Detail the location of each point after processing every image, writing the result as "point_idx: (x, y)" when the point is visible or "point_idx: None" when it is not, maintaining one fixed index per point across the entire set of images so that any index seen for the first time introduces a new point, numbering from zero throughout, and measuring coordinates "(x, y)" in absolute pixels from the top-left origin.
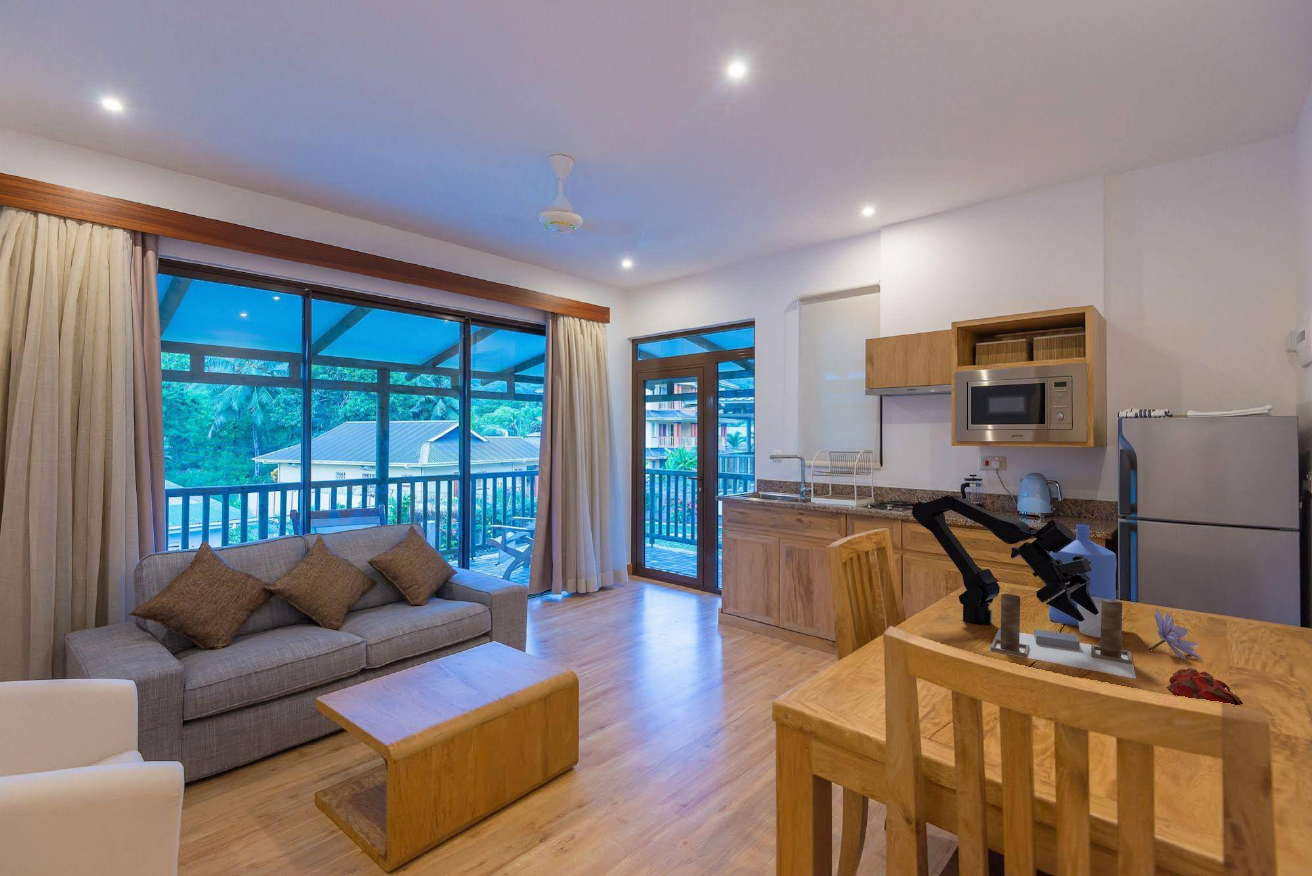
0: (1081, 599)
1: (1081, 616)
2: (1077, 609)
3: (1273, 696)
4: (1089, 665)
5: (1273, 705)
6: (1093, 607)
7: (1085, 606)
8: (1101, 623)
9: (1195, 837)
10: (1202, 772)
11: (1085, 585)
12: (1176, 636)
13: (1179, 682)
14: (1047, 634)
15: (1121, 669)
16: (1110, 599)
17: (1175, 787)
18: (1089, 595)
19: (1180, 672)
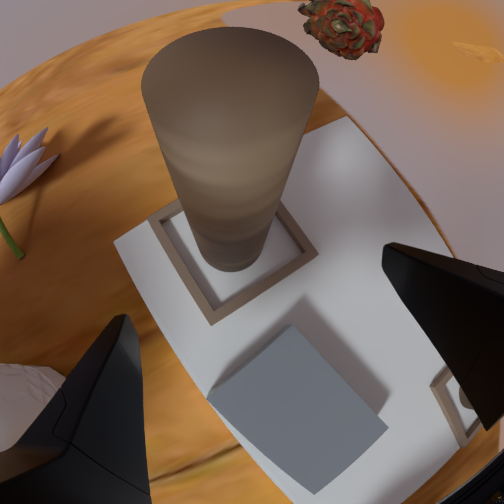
0: (121, 458)
1: (411, 248)
2: (444, 262)
3: (136, 36)
4: (389, 211)
5: (186, 21)
6: (120, 348)
7: (135, 408)
8: (273, 211)
9: (498, 52)
10: (456, 44)
11: (16, 493)
12: (17, 140)
13: (380, 26)
14: (331, 435)
15: (325, 156)
16: (157, 106)
17: (485, 58)
18: (53, 416)
19: (363, 17)
